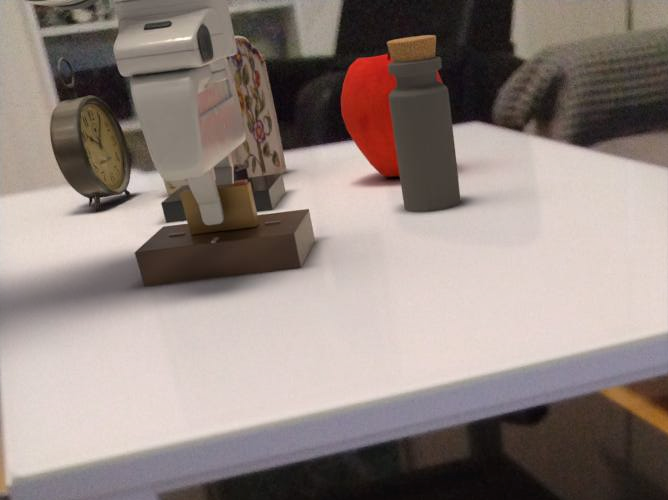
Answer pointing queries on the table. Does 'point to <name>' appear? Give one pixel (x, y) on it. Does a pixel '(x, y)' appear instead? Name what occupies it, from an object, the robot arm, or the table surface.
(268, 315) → the table surface
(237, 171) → the button base
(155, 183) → the table surface
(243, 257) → the plate
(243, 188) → the tan rectangular block
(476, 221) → the table surface
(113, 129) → the alarm clock
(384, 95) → the apple
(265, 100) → the decorative jar
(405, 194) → the bottle
